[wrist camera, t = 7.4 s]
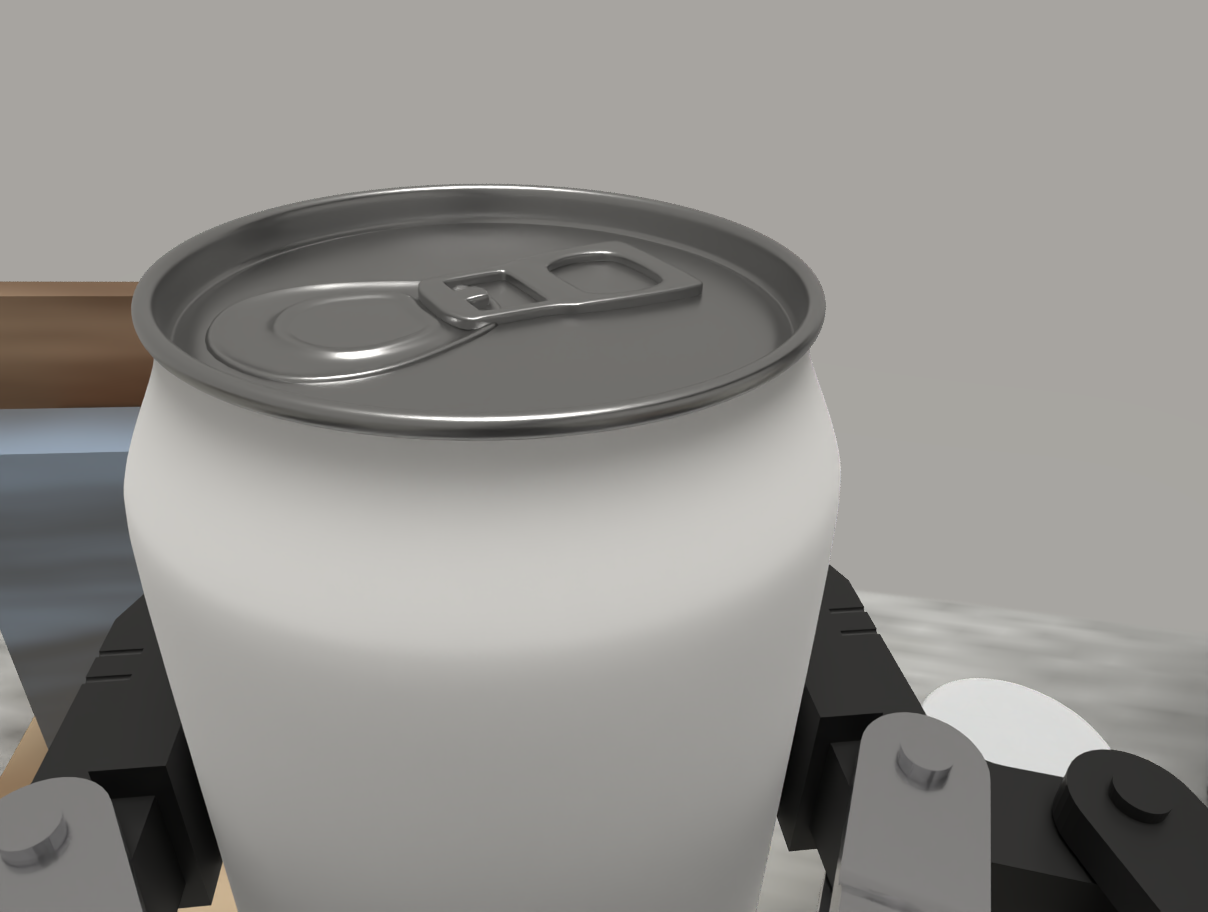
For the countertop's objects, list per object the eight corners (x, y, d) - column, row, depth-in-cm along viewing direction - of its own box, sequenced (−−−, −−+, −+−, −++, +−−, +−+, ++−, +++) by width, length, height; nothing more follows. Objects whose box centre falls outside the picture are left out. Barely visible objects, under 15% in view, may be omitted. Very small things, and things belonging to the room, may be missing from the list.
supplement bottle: (981, 924, 25) (1101, 659, 20) (1056, 1154, 20) (1237, 885, 15) (787, 906, 25) (855, 640, 20) (814, 1131, 20) (914, 857, 15)
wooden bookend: (298, 1157, 20) (163, 687, 12) (-200, 1222, 18) (-691, 737, 11) (372, 634, 34) (330, 277, 27) (99, 648, 33) (-23, 277, 25)
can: (249, 939, 14) (32, 210, 8) (585, 775, 17) (609, 154, 11) (389, 1429, 10) (129, 603, 4) (812, 1089, 13) (1064, 327, 7)
